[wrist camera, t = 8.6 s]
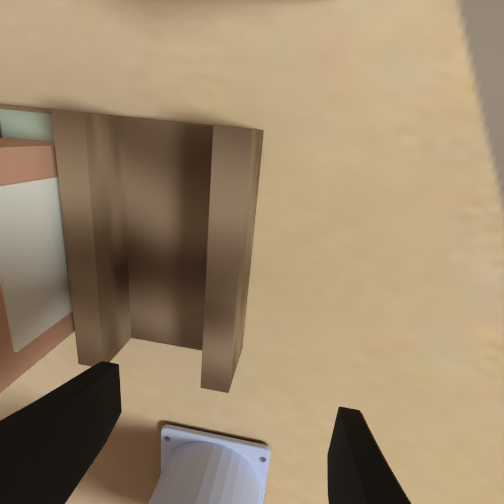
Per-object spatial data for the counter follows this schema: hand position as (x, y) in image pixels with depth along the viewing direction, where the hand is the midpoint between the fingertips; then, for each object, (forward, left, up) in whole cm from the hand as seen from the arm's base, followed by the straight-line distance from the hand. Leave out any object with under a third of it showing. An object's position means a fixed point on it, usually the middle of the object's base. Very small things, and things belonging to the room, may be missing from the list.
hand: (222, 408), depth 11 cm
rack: (+2, +12, -9) cm, 15 cm away
